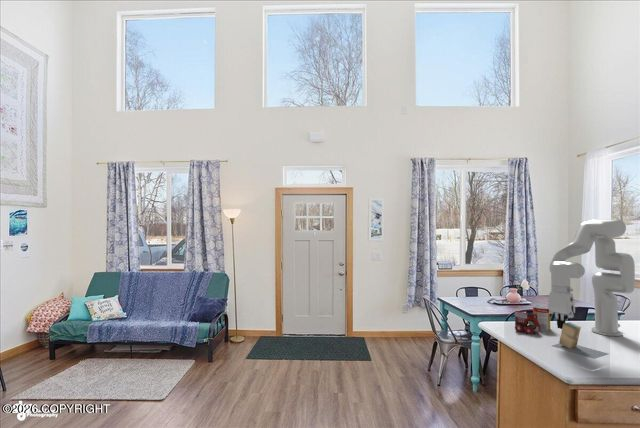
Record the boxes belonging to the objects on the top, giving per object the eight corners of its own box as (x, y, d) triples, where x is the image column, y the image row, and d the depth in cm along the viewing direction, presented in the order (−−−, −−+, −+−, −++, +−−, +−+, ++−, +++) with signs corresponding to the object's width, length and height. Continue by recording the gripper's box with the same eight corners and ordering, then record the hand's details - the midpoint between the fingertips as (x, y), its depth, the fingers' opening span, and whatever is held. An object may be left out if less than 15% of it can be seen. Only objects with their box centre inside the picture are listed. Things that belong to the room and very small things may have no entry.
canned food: (547, 327, 200) (546, 305, 200) (552, 331, 192) (552, 308, 193) (531, 326, 202) (531, 304, 202) (536, 330, 194) (536, 308, 194)
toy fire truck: (536, 336, 184) (536, 316, 184) (511, 330, 194) (511, 311, 194) (542, 334, 188) (542, 314, 188) (517, 328, 198) (517, 309, 198)
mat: (565, 342, 175) (565, 341, 175) (609, 354, 159) (609, 353, 159) (551, 346, 169) (551, 345, 169) (594, 359, 153) (594, 358, 153)
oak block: (565, 341, 172) (569, 321, 170) (576, 347, 167) (580, 326, 166) (559, 343, 169) (563, 323, 168) (570, 348, 165) (574, 328, 163)
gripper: (582, 291, 166) (583, 331, 166) (549, 286, 180) (550, 323, 179) (572, 292, 163) (573, 333, 162) (540, 287, 176) (540, 325, 176)
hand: (561, 328), depth 171 cm, fingers closed
